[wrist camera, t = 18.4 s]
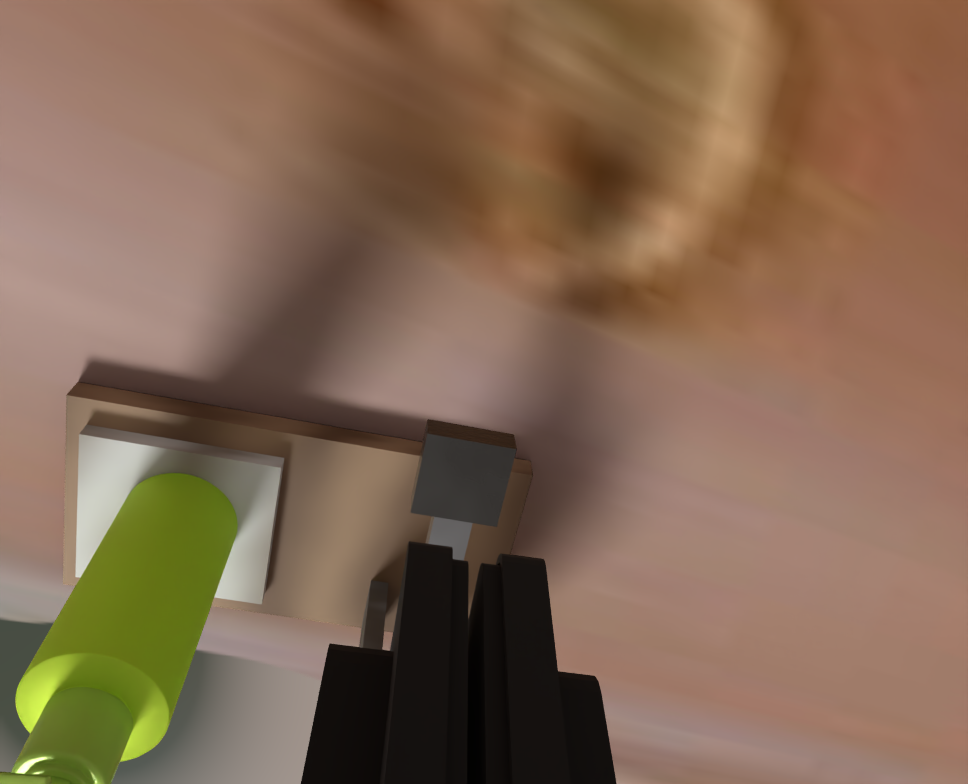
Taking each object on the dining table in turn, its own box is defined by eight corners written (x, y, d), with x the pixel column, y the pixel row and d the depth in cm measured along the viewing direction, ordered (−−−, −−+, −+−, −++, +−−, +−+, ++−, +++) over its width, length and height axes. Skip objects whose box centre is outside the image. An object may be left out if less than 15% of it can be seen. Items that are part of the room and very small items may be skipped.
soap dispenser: (240, 462, 45) (107, 796, 27) (235, 570, 48) (112, 936, 30) (121, 448, 45) (-94, 781, 27) (124, 559, 48) (-69, 925, 30)
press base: (530, 460, 49) (560, 646, 36) (483, 628, 54) (494, 843, 41) (77, 382, 46) (-70, 553, 33) (73, 567, 51) (-56, 779, 38)
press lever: (534, 413, 39) (551, 475, 34) (434, 800, 47) (434, 902, 42) (400, 388, 39) (395, 448, 33) (322, 787, 47) (307, 888, 41)
